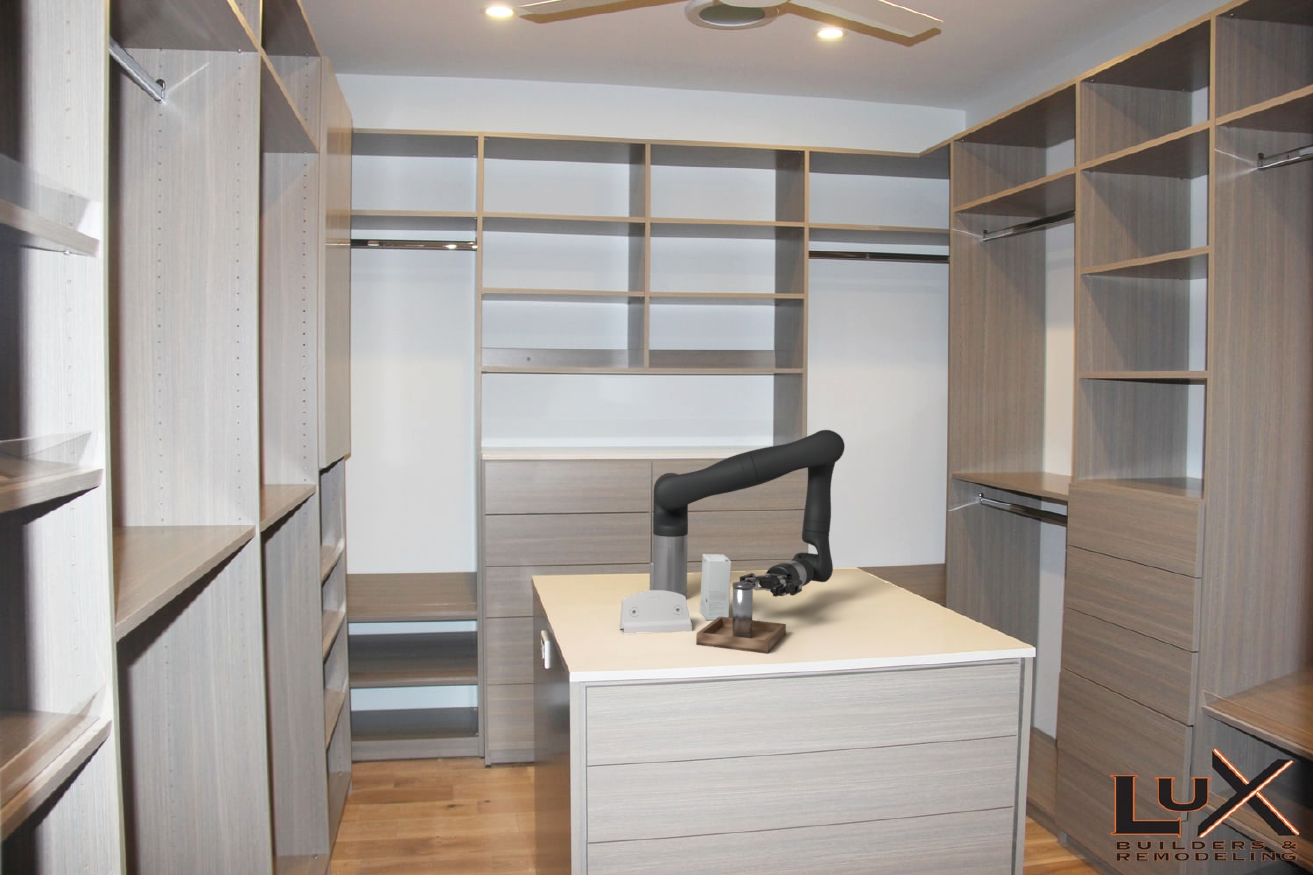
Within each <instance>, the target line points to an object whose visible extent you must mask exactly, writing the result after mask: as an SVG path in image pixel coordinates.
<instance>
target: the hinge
mask: <svg viewBox="0 0 1313 875" xmlns="http://www.w3.org/2000/svg"><path fill="white" fill-rule="evenodd" d="M620 605H621V606H620V607H621V608H620V620H619V630H620V629H621V630H623V634H624V633H636V632H666V633H677V632H676V631H685V632H693V625H692V621H691V617H690V611H689V606H688V602H687V599H686V597H685V596H684V595H681V594H678V593H675V592H670V591H664V590H650V589H649V590H644V591H639V592H636V593H633V594H630V595H628V596H625V597H624V598H622V600H621V604H620Z"/></svg>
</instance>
